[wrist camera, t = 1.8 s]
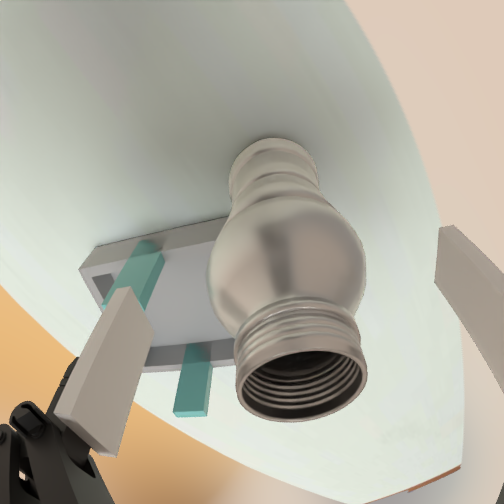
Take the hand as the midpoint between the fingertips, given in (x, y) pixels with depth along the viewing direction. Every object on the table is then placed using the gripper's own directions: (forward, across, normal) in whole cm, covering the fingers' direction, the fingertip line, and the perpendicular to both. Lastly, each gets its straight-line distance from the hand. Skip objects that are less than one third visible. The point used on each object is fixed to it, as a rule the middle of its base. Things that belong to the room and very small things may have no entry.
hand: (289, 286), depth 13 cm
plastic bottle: (+15, 0, 0) cm, 15 cm away
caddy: (+15, -11, -10) cm, 21 cm away
